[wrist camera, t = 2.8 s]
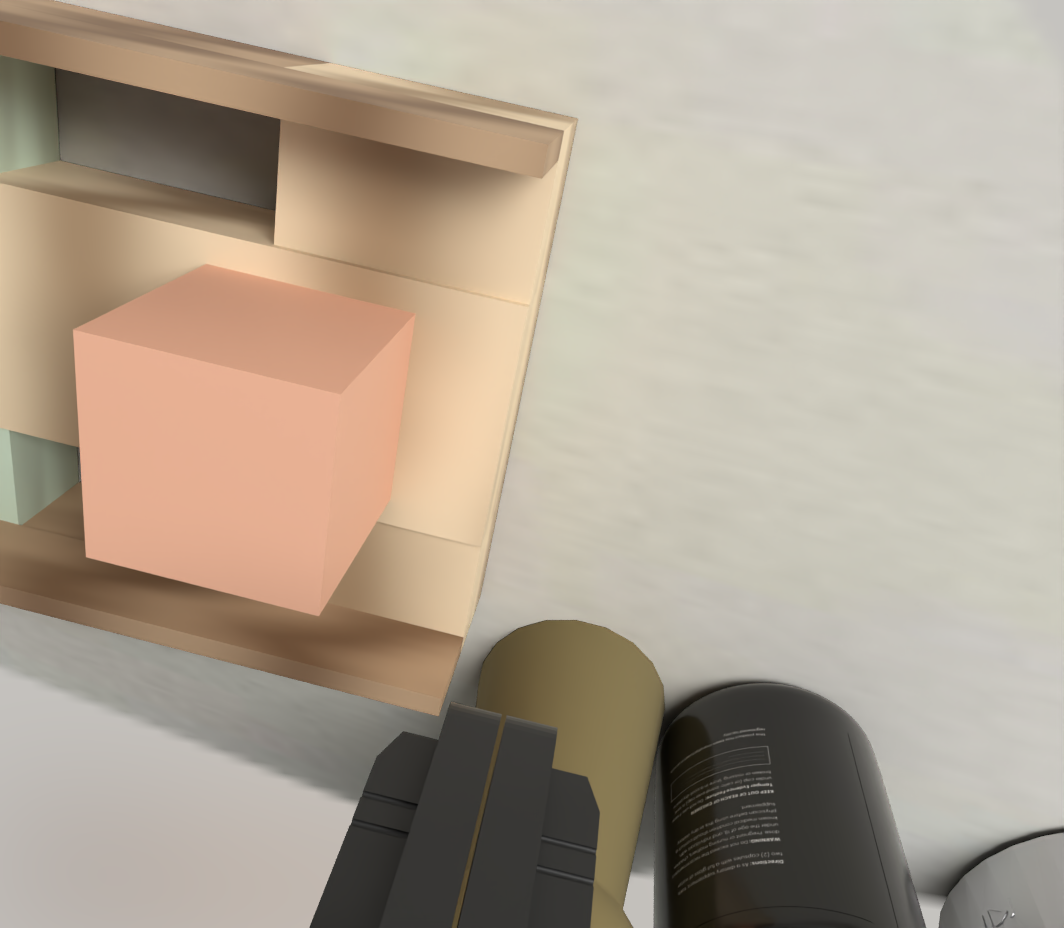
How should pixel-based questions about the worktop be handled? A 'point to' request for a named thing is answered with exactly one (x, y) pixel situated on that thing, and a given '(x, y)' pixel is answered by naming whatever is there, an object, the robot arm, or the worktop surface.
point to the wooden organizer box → (296, 258)
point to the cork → (583, 732)
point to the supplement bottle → (775, 818)
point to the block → (239, 432)
